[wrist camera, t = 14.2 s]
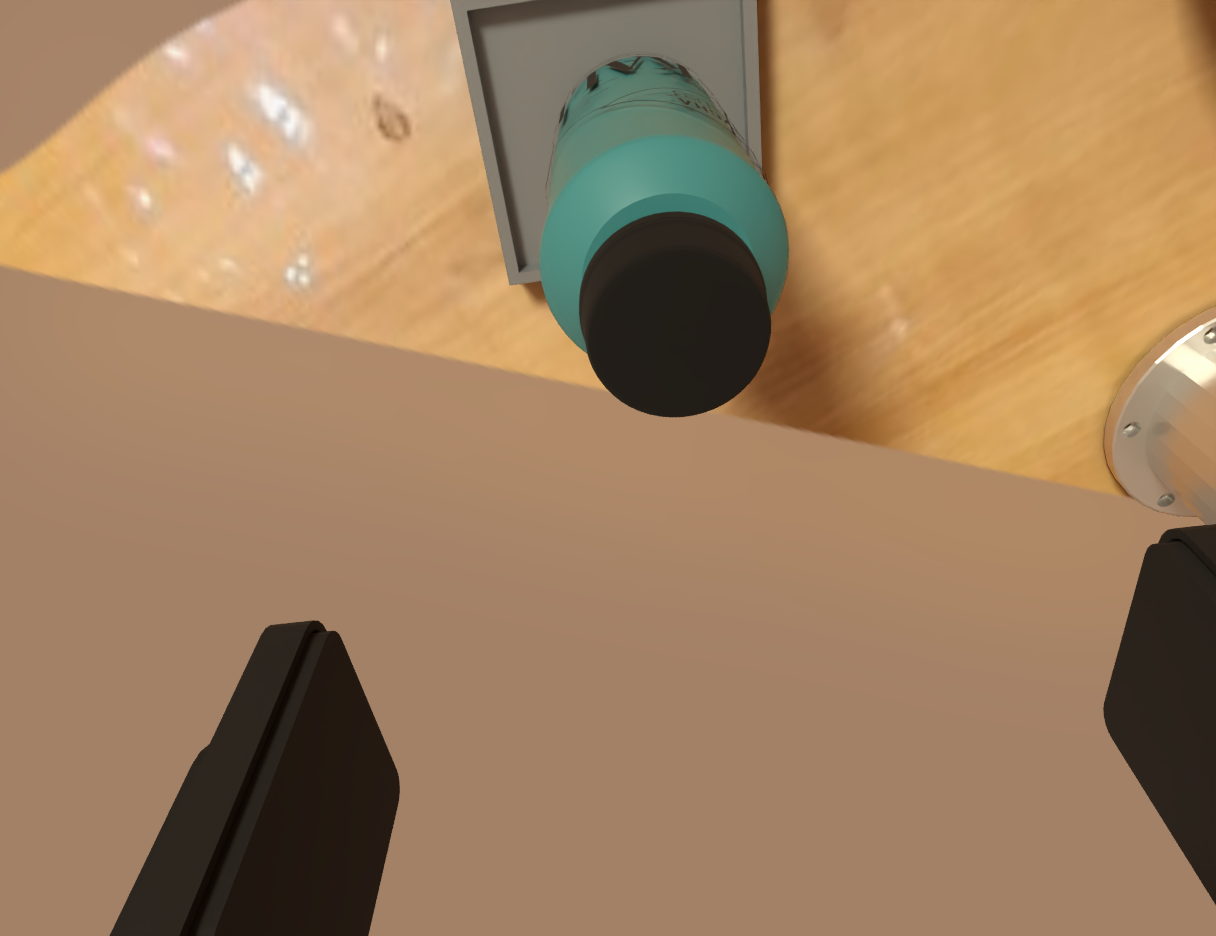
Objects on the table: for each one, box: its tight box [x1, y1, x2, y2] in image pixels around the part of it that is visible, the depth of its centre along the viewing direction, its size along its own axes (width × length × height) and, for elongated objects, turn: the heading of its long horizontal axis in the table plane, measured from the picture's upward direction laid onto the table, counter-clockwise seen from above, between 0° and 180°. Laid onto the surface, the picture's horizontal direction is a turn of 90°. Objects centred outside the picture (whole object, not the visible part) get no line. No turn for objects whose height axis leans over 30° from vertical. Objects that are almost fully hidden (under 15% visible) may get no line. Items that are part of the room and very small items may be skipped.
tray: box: [450, 0, 762, 285], centre depth 34 cm, size 11×11×2 cm
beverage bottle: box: [539, 53, 789, 417], centre depth 26 cm, size 6×7×20 cm
